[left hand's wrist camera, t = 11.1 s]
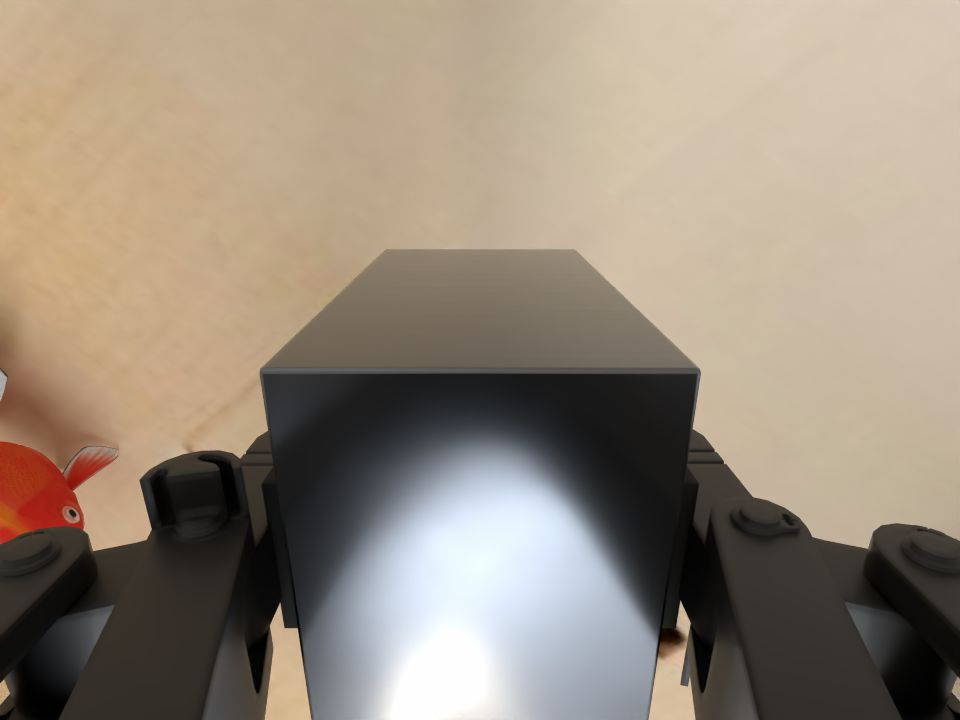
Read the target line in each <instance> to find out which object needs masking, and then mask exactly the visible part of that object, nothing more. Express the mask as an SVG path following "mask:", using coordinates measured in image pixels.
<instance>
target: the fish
mask: <svg viewBox="0 0 960 720" xmlns="http://www.w3.org/2000/svg"><path fill="white" fill-rule="evenodd" d="M7 378H8V375H7V374H6V373H5V372H4V371H3V370H2V369H1V368H0V401H1V398H2V395H3V393H4V389H5V385H6V382H7ZM117 457H118V449H114V448H110V447H106V446H89V447H84V448H82V449H81V450H80V451H79V452H78V453H77V454H76V455H75V457H74V458H73V459H72V460H71V461H70V463H69V464H68V465H67V467H66V468H65V470H64V472H63V473H62V472H61V471H60V470H59V469H58V468H57V467H56V466H55V465H54V464H53V463H52V462H51V461H50V460H49V459H48V458H47V457H46V456H44V455H43V454H42V453H40V452H38V451H36V450H33V449H31V448H28V447H25V446H22V445H17V444H13V443H9V442H0V544H2V543H4V542H7V541H9V540H11V539H13V538H16V537H17V536H18V535H21V534H23V533H26V532H29V531H32V532H33V531H34V530H37V529H42V528H50V527H59V526H69V527H76V528H80V529H82V530H83V529H84V518H83V513H82V511H81V509H80V506H79V504H78V501H77V498H76V495H75V493H74V492H73V490H75V489H76V488H77V487H78V486H79V485H81V484H82V483H83V482H85V481H86V480H87V479H88V478H90V477H91V476H93V475H94V474H96V473H97V472H98V471H100V470H101V469H102V468H104V467H105V466H107V465H108V464H110V463H111V462H113V461H114V460H115V459H116V458H117Z"/></svg>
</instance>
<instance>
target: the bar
mask: <svg viewBox="0 0 960 720" xmlns="http://www.w3.org/2000/svg"><path fill="white" fill-rule="evenodd" d="M700 375H701V372H700V369H699V368H698V367H697V366H696V365H695V364H694V363H693V362H692V361H691V360H690V359H689V358H688V357H687V356H686V355H685V354H684V353H683V352H682V351H680V350H679V349H678V348H677V347H676V346H675V345H674V344H673V343H672V342H671V341H670V340H669V339H668V338H667V337H666V336H665V335H664V334H663V333H662V332H661V331H660V330H658V329H657V328H656V327H655V326H654V325H653V324H652V323H651V322H650V321H649V320H648V319H647V318H646V317H645V316H644V315H643V314H642V313H641V312H640V311H639V310H638V309H637V308H635V307H634V306H633V305H632V304H631V303H630V302H629V301H628V300H627V299H626V298H625V297H624V296H623V295H622V294H621V293H620V292H619V291H618V290H617V289H616V288H615V287H613V286H612V285H611V284H610V283H609V282H608V281H607V280H606V279H605V278H604V277H603V276H602V275H601V274H600V273H599V272H598V271H597V270H596V269H595V268H594V267H593V266H591V265H590V264H589V263H588V262H587V261H586V260H585V259H584V258H583V257H582V256H581V255H580V254H579V253H578V252H577V251H576V250H392V249H387V250H385V251H384V252H383V253H382V254H381V255H379V256H378V257H377V258H376V259H375V260H374V261H373V262H372V263H371V264H370V265H369V266H368V267H367V268H366V269H365V270H364V271H363V272H362V273H361V274H359V275H358V276H357V277H356V278H355V279H354V280H353V281H352V282H351V283H350V284H349V285H348V286H347V287H346V288H345V289H344V290H343V291H342V292H341V293H340V294H338V295H337V296H336V297H335V298H334V299H333V300H332V301H331V302H330V303H329V304H328V305H327V306H326V307H325V308H324V309H323V310H322V311H321V312H320V313H318V314H317V315H316V316H315V317H314V318H313V319H312V320H311V321H310V322H309V323H308V324H307V325H306V326H305V327H304V328H303V329H302V330H301V331H300V332H299V333H297V334H296V335H295V336H294V337H293V338H292V339H291V340H290V341H289V342H288V343H287V344H286V345H285V346H284V347H283V348H282V349H281V350H280V351H279V352H277V353H276V354H275V355H274V356H273V357H272V358H271V359H270V360H269V361H268V362H267V363H266V364H265V365H264V366H263V367H262V368H261V369H260V378H261V385H262V392H263V399H264V405H265V412H266V419H267V425H268V432H269V439H270V445H271V452H272V459H273V465H274V472H275V479H276V485H277V492H278V499H279V505H280V512H281V519H282V525H283V532H284V539H285V546H286V552H287V559H288V566H289V572H290V579H291V586H292V592H293V599H294V606H295V612H296V619H297V626H298V632H299V639H300V646H301V652H302V659H303V666H304V672H305V679H306V686H307V693H308V699H309V706H310V713H311V719H312V720H648V718H649V712H650V705H651V698H652V692H653V685H654V679H655V672H656V665H657V659H658V652H659V646H660V639H661V632H662V626H663V619H664V613H665V606H666V599H667V593H668V586H669V580H670V573H671V566H672V560H673V553H674V547H675V540H676V533H677V527H678V520H679V514H680V507H681V501H682V494H683V487H684V481H685V474H686V468H687V461H688V454H689V448H690V441H691V435H692V428H693V421H694V415H695V408H696V402H697V395H698V388H699V382H700Z"/></svg>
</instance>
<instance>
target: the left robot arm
mask: <svg viewBox="0 0 960 720" xmlns="http://www.w3.org/2000/svg"><path fill="white" fill-rule="evenodd" d="M140 484H141V488H142V492H143V496H144V500H145V504H146V508H147V512H148V516H149V520H150V524H151V528H152V530H151V532H150V535H149V537H148V539H147V540H145V541H141V542H137V543H133V544H128V545H123V546H118V547H113V548H108V549H102V550H97V551H93V549H92V546H91V543H90V539H89V536H88V534H87V533H86V532H84V531H83V530H82V529H80V528H76V527H69V526H59V527H50V528H42V529H37V530H34V531H33V532H32V531H29V532H26V533H23V534H21V535H18V536H17V537H16V538H13V539H11V540H9V541H7V542H4V543H2V544H0V683H1V682H2V681H3V680H5V682H6V685H7V687H8V690H9V692H10V695H9V696H8V697H7V698H6V699H5V700H4V702H3V703H2V704H1V705H0V720H265V712H266V704H267V696H268V688H269V680H270V672H271V664H272V656H273V643H272V636H271V631H270V624H271V621H272V619H273V617H274V615H275V613H276V610H277V608H278V606H279V604H280V603H281V609H282V615H283V621H284V627H285V628H298V626H297V619H296V612H295V606H294V599H293V592H292V586H291V579H290V572H289V566H288V559H287V552H286V546H285V539H284V532H283V525H282V519H281V512H280V505H279V499H278V492H277V485H276V479H275V472H274V465H273V459H272V452H271V445H270V439H269V432H268V431H267V432H266V433H264V434H262V435H261V436H259V437H257V439H256V440H255V441H254V442H253V444H252V445H251V446H250V447H249V449H248V450H247V451H246V454H244V455H243V456H242V457H241V459H240V458H238V457H237V456H236V455H234V454H233V453H229V452H224V451H219V450H217V451H199V452H193V453H188V454H183V455H180V456H177V457H175V458H172V459H169V460H166V461H164V462H162V463H160V464H159V465H157V466H155V467H154V468H152V469H150V470H149V471H148V472H147V473H146V474H145V475H144V476H143V477H142V478H141V479H140ZM680 600H681V602H682V604H683V607H684V609H685V611H686V613H687V615H688V618H689V620H690V622H691V625H690V631H689V636H688V642H687V648H686V653H685V659H684V665H683V671H682V677H681V684H680V685H684V686H688V683H689V677H690V678H691V686H692V694H693V702H694V710H695V718H696V720H960V701H959V700H958V699H957V698H956V697H955V695H954V694H953V693H952V692H951V691H952V689H953V686H954V684H955V681H956V679H957V677H959V678H960V541H958V540H956V539H954V538H952V537H949V536H947V535H945V534H944V533H942V532H940V531H937V530H934V529H927V527H922V526H917V525H906V524H897V523H896V524H889V525H882V526H880V527H879V528H878V529H876V530H875V531H874V532H873V535H872V538H871V541H870V544H869V548H868V549H865V548H860V547H855V546H850V545H845V544H840V543H835V542H830V541H825V540H821V539H817V538H813V537H812V536H811V534H810V532H809V529H808V528H807V527H806V526H805V524H804V523H803V522H802V521H801V519H800V518H799V517H797V516H796V515H794V514H793V513H792V512H790V511H789V510H787V509H786V508H784V507H781V506H779V505H777V504H774V503H772V502H770V501H767V500H763V499H758V498H754V497H752V496H751V494H750V493H749V492H748V491H747V489H746V488H745V487H744V486H743V484H742V483H741V482H740V481H739V479H738V478H737V477H736V476H735V474H734V473H733V472H732V471H731V470H730V468H729V467H728V466H727V465H726V464H724V461H723V460H722V458H721V457H720V456H719V455H718V453H717V452H715V451H714V448H713V447H712V446H711V445H710V443H709V442H708V441H707V440H706V438H705V437H704V436H703V435H701V434H700V433H698V432H696V431H695V430H693V429H692V435H691V441H690V448H689V454H688V461H687V468H686V474H685V481H684V487H683V494H682V501H681V507H680V514H679V520H678V527H677V533H676V540H675V547H674V553H673V560H672V566H671V573H670V580H669V586H668V593H667V599H666V606H665V613H664V619H663V626H662V628H676V624H677V617H678V611H679V605H680Z"/></svg>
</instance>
